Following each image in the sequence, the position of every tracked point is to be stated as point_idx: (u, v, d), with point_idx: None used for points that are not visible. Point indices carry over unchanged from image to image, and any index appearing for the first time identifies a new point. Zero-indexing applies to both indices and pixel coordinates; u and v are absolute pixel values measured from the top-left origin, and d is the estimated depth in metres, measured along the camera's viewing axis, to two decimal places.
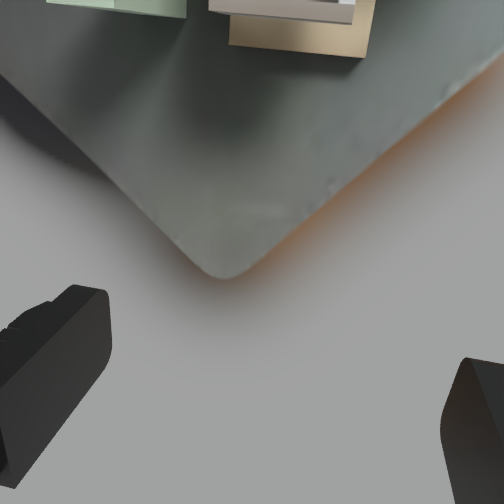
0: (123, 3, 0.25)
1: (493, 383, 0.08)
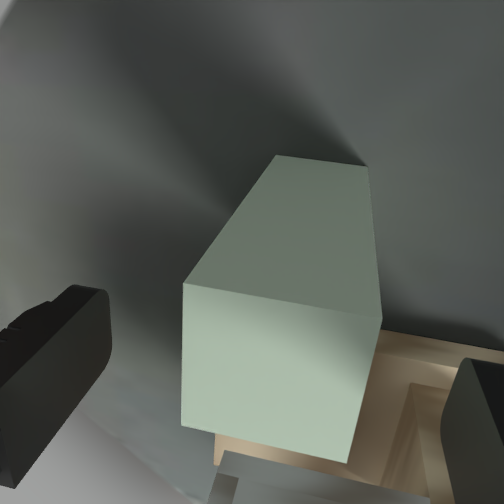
0: None
1: (493, 383, 0.08)
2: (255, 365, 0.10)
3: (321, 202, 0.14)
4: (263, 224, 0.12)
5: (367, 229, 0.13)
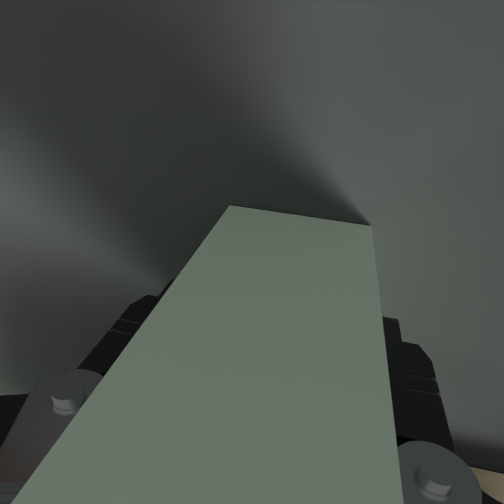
0: None
1: None
2: None
3: (287, 336, 0.07)
4: (144, 441, 0.05)
5: (383, 442, 0.06)
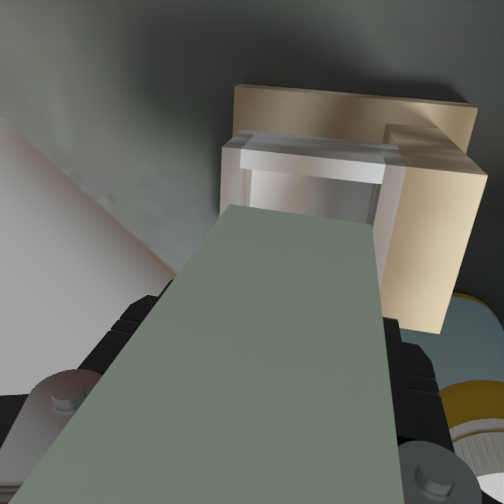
0: None
1: None
2: None
3: (287, 334, 0.07)
4: (143, 438, 0.05)
5: (383, 440, 0.06)
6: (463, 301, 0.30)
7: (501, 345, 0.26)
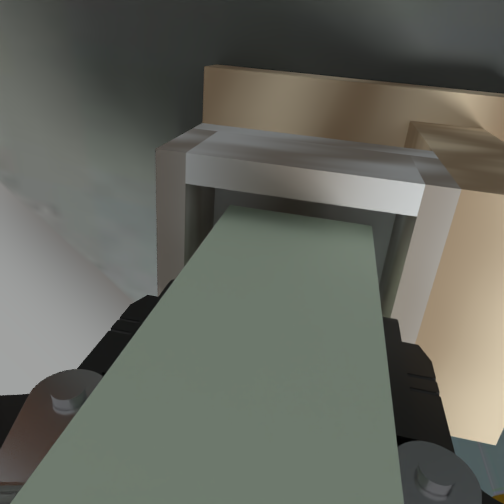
0: None
1: None
2: None
3: (287, 336, 0.07)
4: (143, 440, 0.05)
5: (383, 442, 0.06)
6: None
7: None
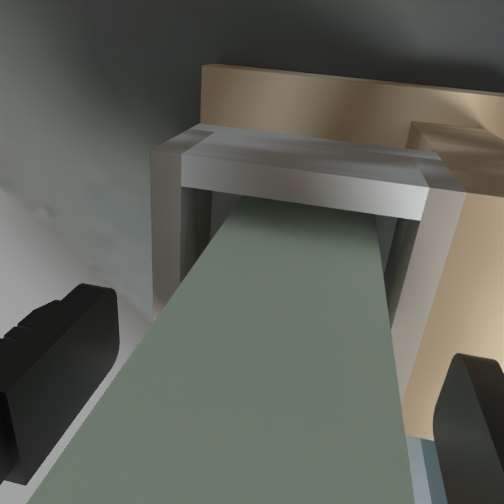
0: None
1: (483, 377, 0.08)
2: None
3: (304, 296, 0.09)
4: (193, 367, 0.07)
5: (386, 373, 0.07)
6: None
7: None
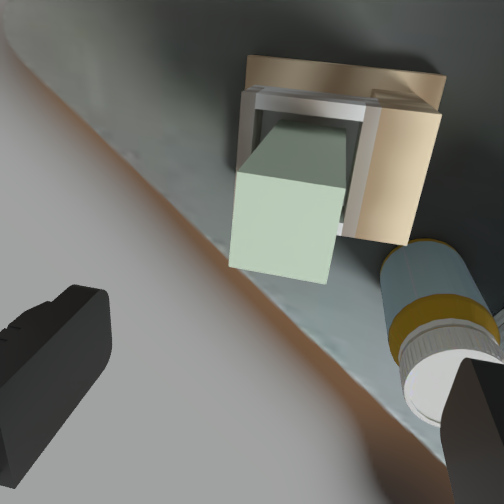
0: None
1: (493, 383, 0.08)
2: (275, 222, 0.17)
3: (312, 144, 0.22)
4: (277, 152, 0.20)
5: (342, 157, 0.20)
6: (434, 244, 0.36)
7: (462, 274, 0.32)
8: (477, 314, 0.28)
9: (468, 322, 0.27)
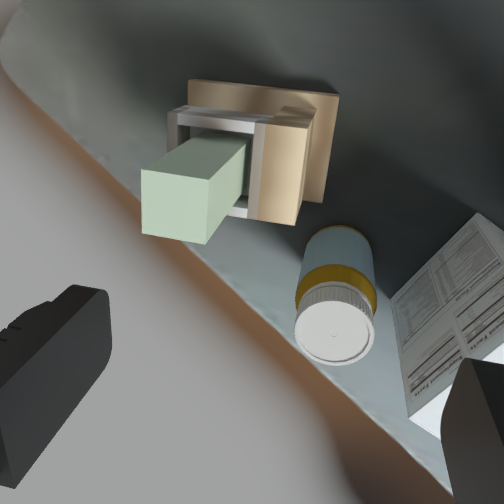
0: None
1: (493, 383, 0.08)
2: (168, 202, 0.26)
3: (212, 150, 0.31)
4: (179, 156, 0.29)
5: (226, 160, 0.29)
6: (343, 229, 0.45)
7: (356, 251, 0.41)
8: (354, 278, 0.37)
9: (344, 284, 0.36)
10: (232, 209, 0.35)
